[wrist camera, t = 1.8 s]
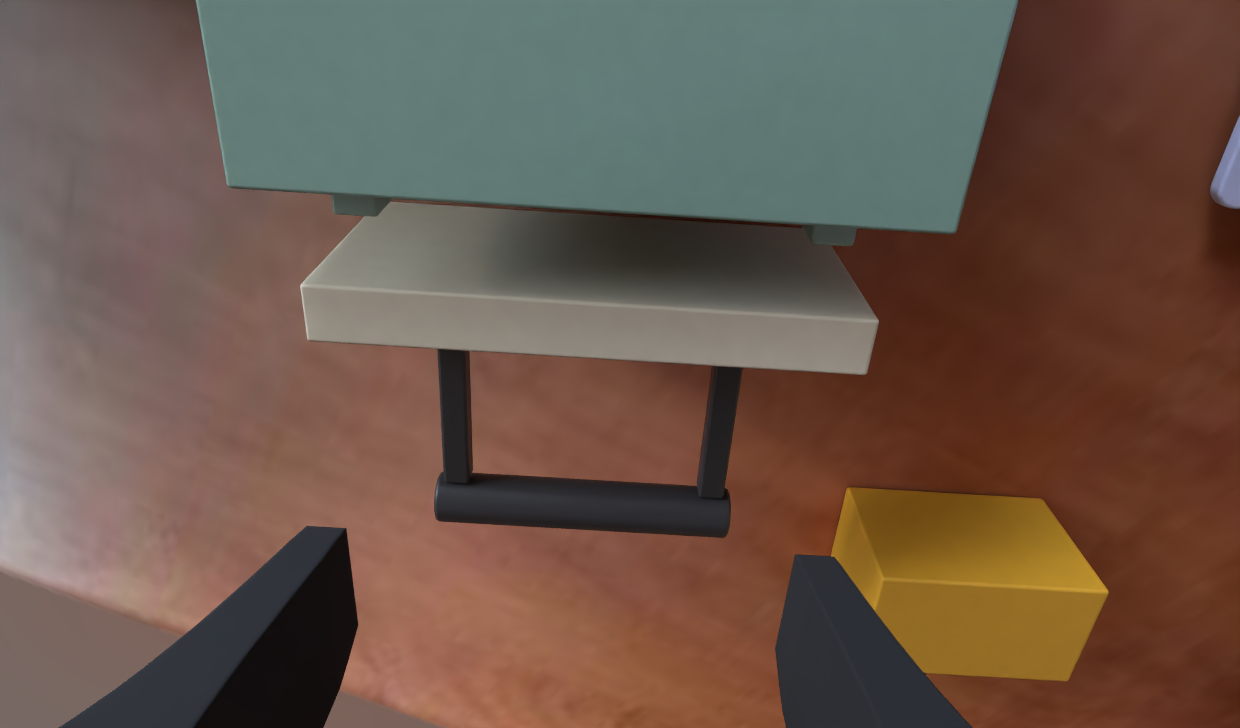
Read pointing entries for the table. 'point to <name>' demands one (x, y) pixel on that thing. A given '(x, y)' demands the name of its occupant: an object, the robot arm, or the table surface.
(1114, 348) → the table surface
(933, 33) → the cabinet
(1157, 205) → the table surface
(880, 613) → the block
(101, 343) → the table surface
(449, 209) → the drawer
